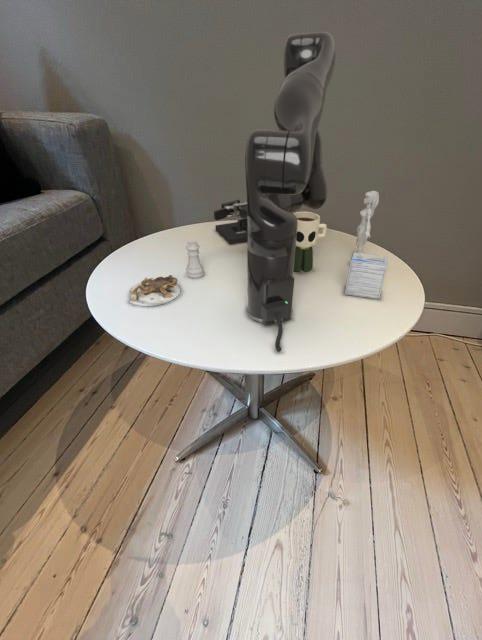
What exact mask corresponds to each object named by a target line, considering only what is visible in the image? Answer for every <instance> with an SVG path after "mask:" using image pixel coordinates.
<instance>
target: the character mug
mask: <svg viewBox="0 0 482 640" xmlns="http://www.w3.org/2000/svg"><path fill="white" fill-rule="evenodd" d="M293 214H294V215H295V216H296V218H297V221H298V227H297V237H296V248H295V259H294V270H293V272H300V273H301V271H302V269H303V272H305V273H306V272H309V271H311V270H313V267H314V248H313V247H314V246H316V244H317V243H318V239H321V238H325V237H326V236H327V229H328V227H327V224H326V223H321V216H320V215H319V214H317V213H315V212H311V211H295V212H293ZM320 229H322V230H321V231H322V232H321V233H319V232H320Z"/></svg>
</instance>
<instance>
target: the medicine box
mask: <svg viewBox="0 0 482 640" xmlns="http://www.w3.org/2000/svg"><path fill="white" fill-rule="evenodd" d="M350 262H351V263H350ZM350 262H349V267H348V268H349V269H348V274H347V279H346V286H345V290H344V295H347V296H354V297H360V298H367V299H374V300H380V297H381V293H382V289H383V285H384V282H385V278H386V275H387V270H388V267H389V257H388V256H387V255H382V254H372V253H365V252H363V253H357V251H356V252H352V255H351V259H350Z"/></svg>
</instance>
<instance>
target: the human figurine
mask: <svg viewBox="0 0 482 640" xmlns="http://www.w3.org/2000/svg"><path fill="white" fill-rule="evenodd" d="M379 202H380V195H379V191H376V190H371V191H367V192H365V197H364V198H363V205H365V208H364V209H362V210H361V211H360V212H359V215H360V217H361V218H360V224H358V226H357V228H356V242H355V245H357V248H356V253H364V248H363V245H364V246H365V245H366V243H367V241H368V240H369V238H371V230H372V226H371V218H372V217H373V216H374V213H375V211H376V208H377V206H378V204H380V203H379ZM350 263H351V261H350V262H349V264H350Z"/></svg>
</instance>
